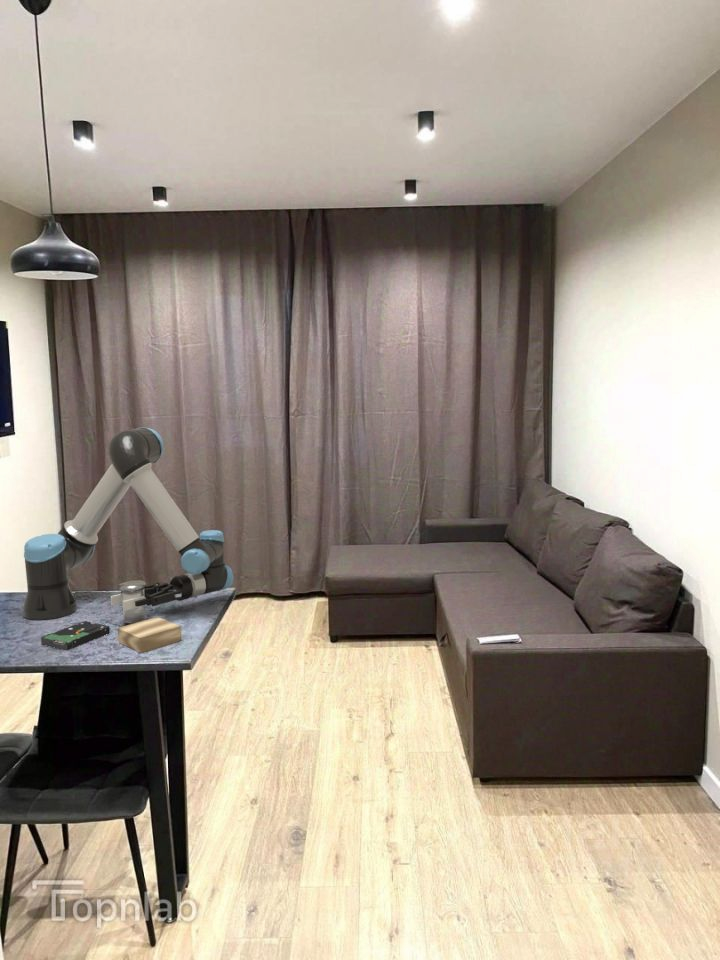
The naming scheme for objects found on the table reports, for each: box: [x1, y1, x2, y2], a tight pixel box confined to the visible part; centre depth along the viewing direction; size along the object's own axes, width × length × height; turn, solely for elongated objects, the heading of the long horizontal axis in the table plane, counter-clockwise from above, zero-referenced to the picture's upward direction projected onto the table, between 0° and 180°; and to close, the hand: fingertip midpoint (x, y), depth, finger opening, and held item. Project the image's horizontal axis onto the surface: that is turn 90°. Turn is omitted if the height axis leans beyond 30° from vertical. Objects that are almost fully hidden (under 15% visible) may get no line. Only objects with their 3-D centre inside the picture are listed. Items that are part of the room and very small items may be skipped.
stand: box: [117, 616, 182, 654], centre depth 193 cm, size 12×12×4 cm
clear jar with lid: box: [117, 579, 147, 624], centre depth 208 cm, size 8×8×11 cm
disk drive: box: [40, 620, 111, 651], centre depth 197 cm, size 10×3×15 cm
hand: (117, 603), depth 204 cm, fingers closed on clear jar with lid, 6 cm apart
